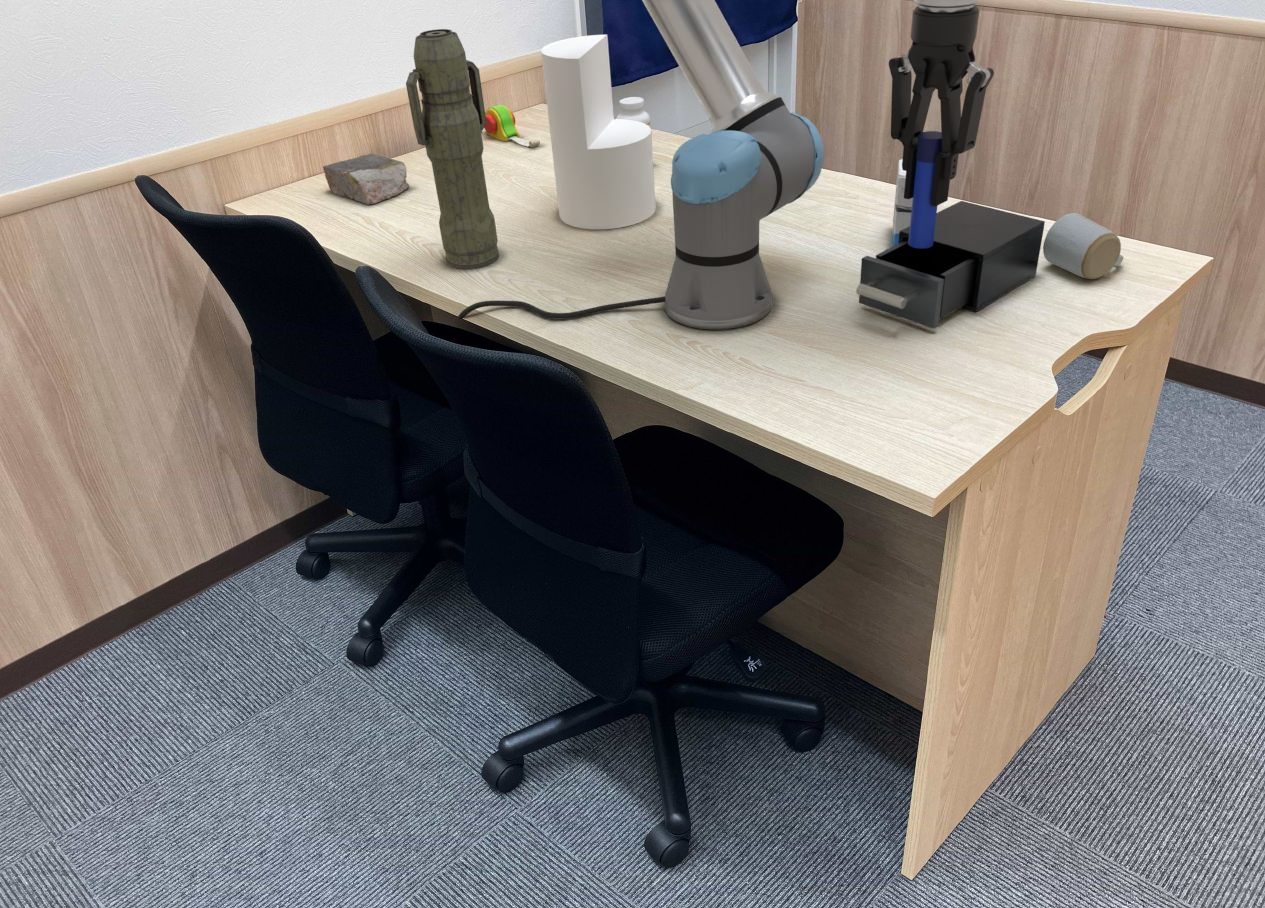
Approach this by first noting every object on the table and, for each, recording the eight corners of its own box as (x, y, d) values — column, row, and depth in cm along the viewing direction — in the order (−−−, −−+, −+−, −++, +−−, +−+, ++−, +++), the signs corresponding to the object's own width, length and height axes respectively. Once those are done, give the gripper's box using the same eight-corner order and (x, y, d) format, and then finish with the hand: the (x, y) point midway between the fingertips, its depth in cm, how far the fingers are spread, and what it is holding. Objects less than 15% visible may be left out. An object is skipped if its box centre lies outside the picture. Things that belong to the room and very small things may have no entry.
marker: (923, 251, 131) (936, 140, 123) (902, 244, 133) (912, 135, 125) (938, 243, 133) (951, 134, 125) (917, 237, 135) (928, 129, 127)
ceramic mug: (1080, 287, 140) (1091, 235, 136) (1037, 267, 147) (1047, 217, 142) (1135, 271, 144) (1148, 220, 140) (1091, 252, 150) (1102, 203, 146)
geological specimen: (367, 151, 201) (410, 160, 192) (373, 181, 204) (416, 191, 195) (320, 164, 195) (362, 174, 185) (328, 195, 198) (369, 206, 188)
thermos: (517, 252, 165) (486, 26, 145) (463, 276, 158) (422, 43, 138) (482, 241, 170) (448, 22, 151) (428, 264, 163) (384, 37, 144)
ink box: (925, 251, 154) (932, 176, 148) (892, 250, 155) (898, 176, 149) (923, 230, 161) (930, 157, 155) (891, 229, 162) (897, 158, 156)
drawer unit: (976, 312, 136) (984, 255, 132) (894, 286, 145) (899, 231, 140) (1035, 276, 144) (1045, 221, 140) (954, 253, 153) (961, 200, 148)
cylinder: (546, 228, 173) (526, 59, 158) (574, 193, 187) (558, 35, 171) (643, 230, 169) (632, 57, 154) (664, 195, 183) (656, 33, 167)
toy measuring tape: (498, 128, 227) (494, 98, 223) (548, 143, 214) (544, 112, 211) (474, 134, 224) (469, 104, 220) (524, 151, 211) (519, 119, 207)
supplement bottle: (615, 164, 199) (610, 98, 192) (646, 159, 201) (642, 93, 193) (624, 174, 194) (620, 106, 187) (657, 168, 195) (653, 101, 188)
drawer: (914, 340, 129) (919, 293, 125) (839, 313, 137) (841, 267, 133) (993, 293, 139) (1000, 247, 135) (919, 270, 147) (923, 226, 143)
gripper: (1028, 6, 113) (998, 205, 126) (906, -7, 124) (890, 178, 137) (991, 18, 109) (964, 222, 122) (869, 4, 120) (856, 193, 133)
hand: (925, 199), depth 130 cm, fingers closed on marker, 3 cm apart
